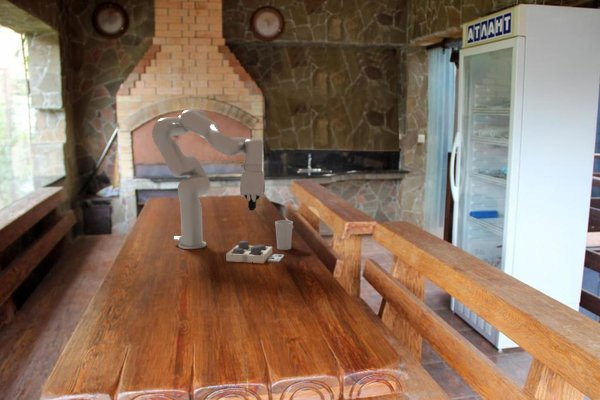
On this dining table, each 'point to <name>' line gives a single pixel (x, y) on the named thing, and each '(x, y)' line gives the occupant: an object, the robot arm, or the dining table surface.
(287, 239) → the cup
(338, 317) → the dining table surface
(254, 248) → the button camera
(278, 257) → the card
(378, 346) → the dining table surface
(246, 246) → the button
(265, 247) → the button
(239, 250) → the camera button
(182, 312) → the dining table surface
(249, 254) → the board
